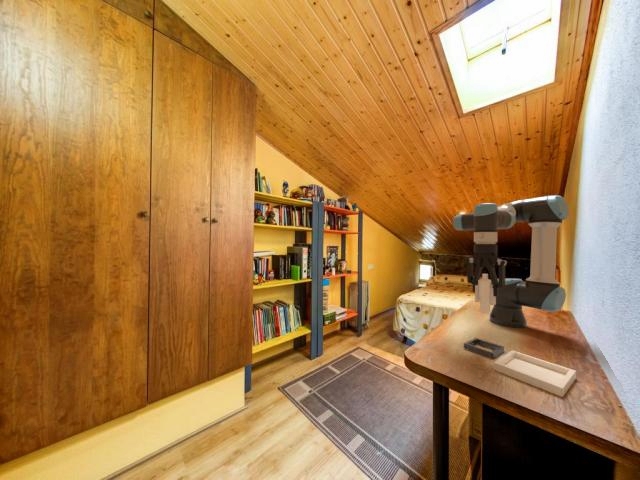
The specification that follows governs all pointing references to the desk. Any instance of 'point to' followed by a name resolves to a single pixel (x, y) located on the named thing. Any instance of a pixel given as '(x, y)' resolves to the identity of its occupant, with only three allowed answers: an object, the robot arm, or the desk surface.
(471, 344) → the ring collar
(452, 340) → the desk surface
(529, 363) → the tray
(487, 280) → the perfume bottle
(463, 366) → the desk surface
